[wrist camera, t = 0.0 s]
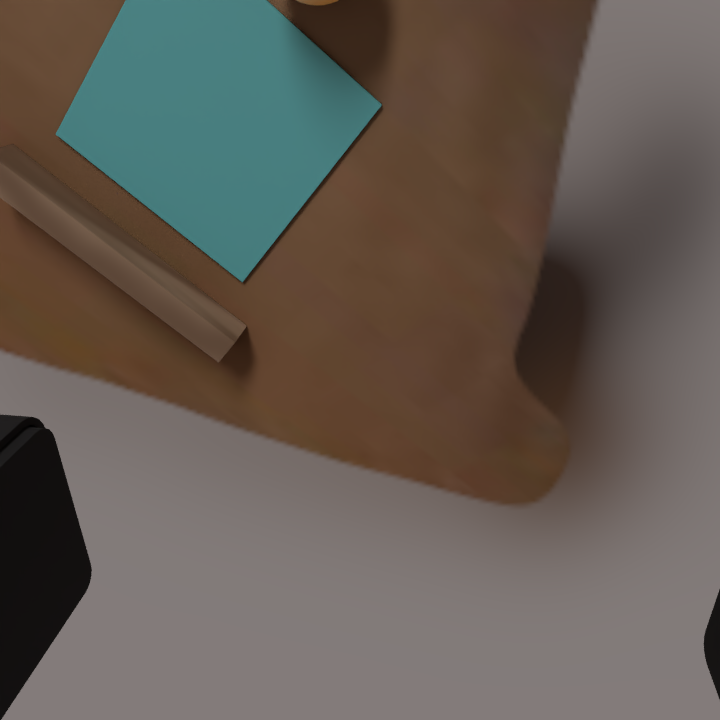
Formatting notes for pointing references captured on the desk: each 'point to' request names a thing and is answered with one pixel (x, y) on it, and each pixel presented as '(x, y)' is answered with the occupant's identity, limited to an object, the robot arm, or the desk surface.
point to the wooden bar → (115, 254)
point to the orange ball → (317, 2)
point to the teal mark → (216, 119)
